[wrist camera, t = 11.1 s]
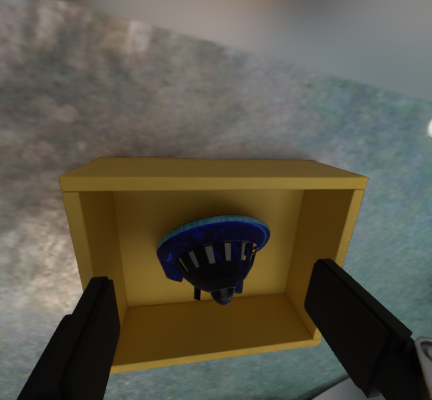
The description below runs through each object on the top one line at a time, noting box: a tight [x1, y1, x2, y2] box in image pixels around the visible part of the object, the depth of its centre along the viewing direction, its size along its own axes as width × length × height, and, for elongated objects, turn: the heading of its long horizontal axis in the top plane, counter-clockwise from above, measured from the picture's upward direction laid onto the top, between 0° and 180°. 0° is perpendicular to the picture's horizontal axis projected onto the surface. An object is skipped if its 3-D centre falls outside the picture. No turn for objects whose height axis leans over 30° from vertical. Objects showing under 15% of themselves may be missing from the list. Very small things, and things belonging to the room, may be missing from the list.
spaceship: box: [156, 214, 270, 305], centre depth 12 cm, size 7×6×5 cm
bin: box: [59, 157, 369, 374], centre depth 13 cm, size 11×13×5 cm
